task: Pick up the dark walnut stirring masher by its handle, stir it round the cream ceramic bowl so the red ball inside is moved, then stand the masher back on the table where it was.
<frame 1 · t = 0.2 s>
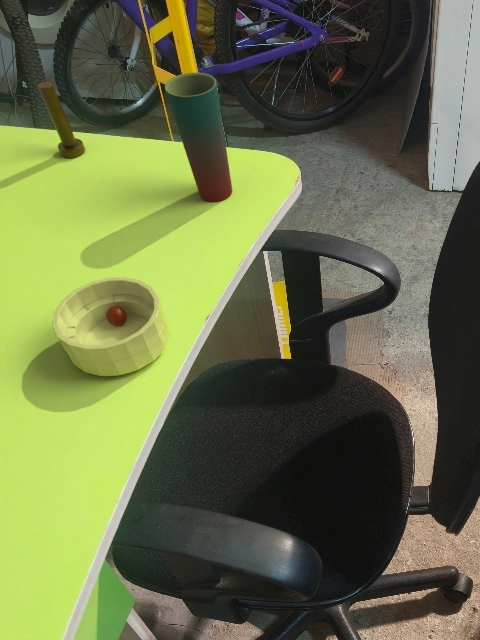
red ball: (116, 316, 72), point 2 cm above the table, touching bowl
masher: (73, 151, 97), on the table
cup: (216, 193, 90), on the table
bowl: (121, 342, 72), on the table
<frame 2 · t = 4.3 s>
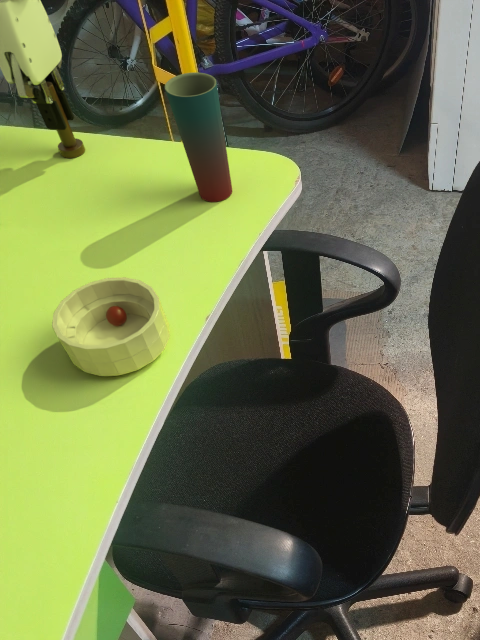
hand: (60, 122, 93), 5 cm above the table, tool pointing down, fingers closed on masher, 2 cm apart
masher: (73, 151, 97), on the table, touching gripper
everything else where it was.
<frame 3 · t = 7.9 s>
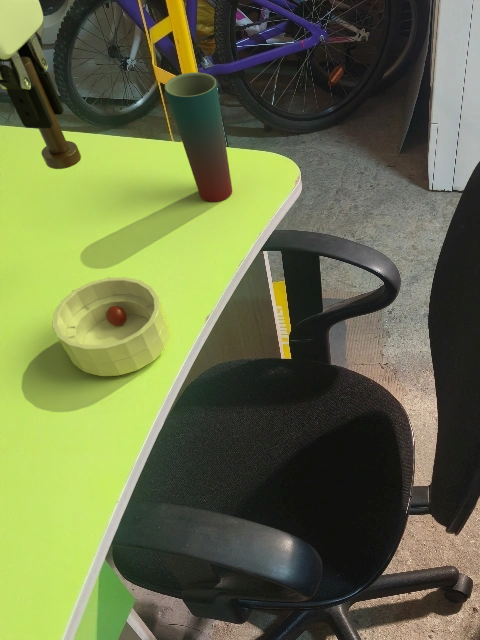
hand: (44, 118, 64), 19 cm above the table, tool pointing down, fingers closed on masher
masher: (63, 160, 68), point 15 cm above the table, touching gripper
everything else where it was.
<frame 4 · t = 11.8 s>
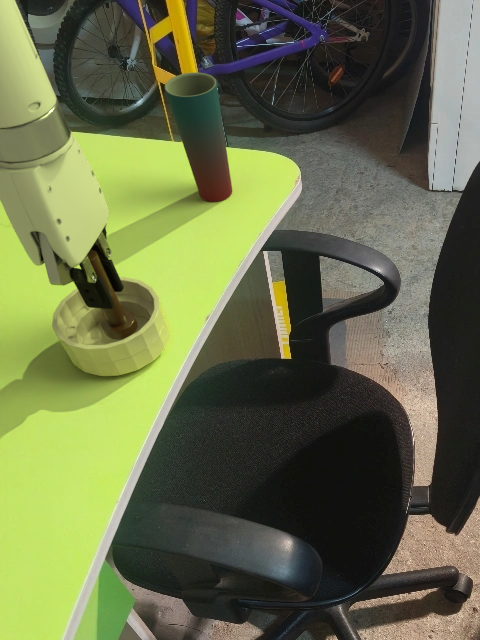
hand: (105, 297, 67), 7 cm above the table, tool pointing down, fingers closed on masher, 2 cm apart
red ball: (112, 313, 72), point 2 cm above the table, tilted 28°, touching bowl, masher
masher: (121, 328, 71), point 2 cm above the table, touching red ball, gripper
everything else where it was.
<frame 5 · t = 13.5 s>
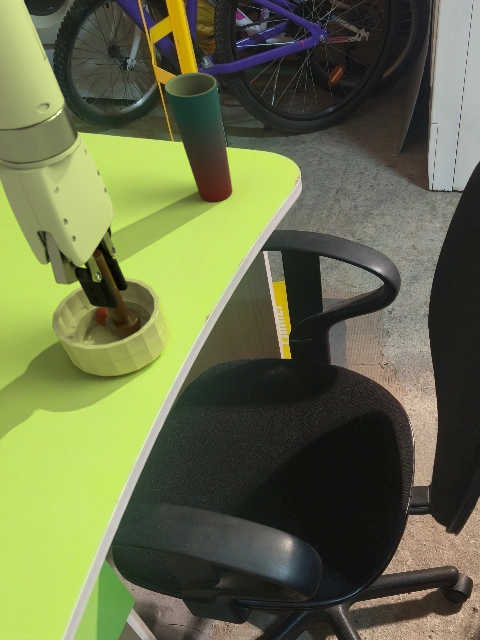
hand: (109, 295, 68), 6 cm above the table, tool pointing down, fingers closed on masher, 2 cm apart
red ball: (105, 316, 72), point 2 cm above the table, tilted 18°, touching bowl, masher
masher: (125, 326, 71), point 2 cm above the table, touching red ball, gripper
everything else where it was.
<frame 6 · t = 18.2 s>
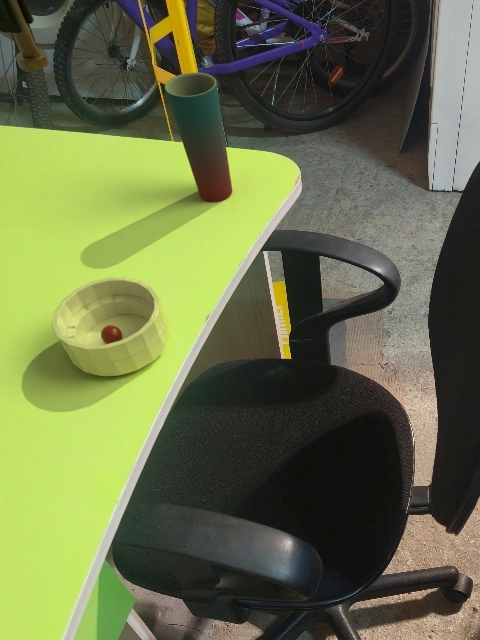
hand: (17, 25, 78), 19 cm above the table, tool pointing down, fingers closed on masher
red ball: (111, 335, 70), point 2 cm above the table, tilted 117°, touching bowl
masher: (34, 64, 82), point 15 cm above the table, touching gripper
everything else where it was.
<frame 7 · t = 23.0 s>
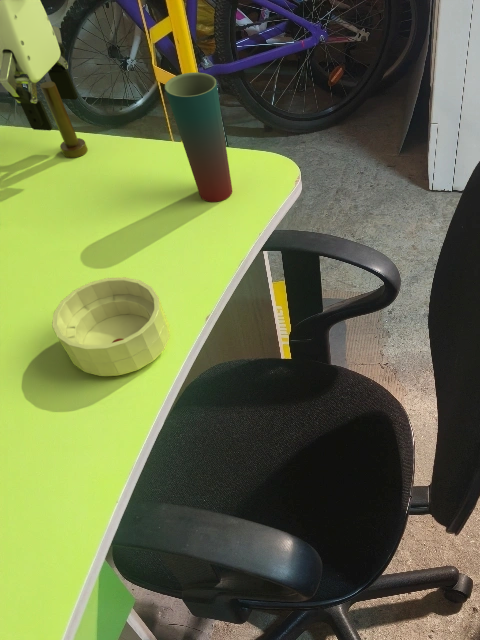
hand: (56, 113, 92), 6 cm above the table, tool pointing down, fingers open, 9 cm apart
red ball: (121, 348, 69), point 2 cm above the table, tilted 110°, touching bowl
masher: (75, 151, 97), on the table
everything else where it was.
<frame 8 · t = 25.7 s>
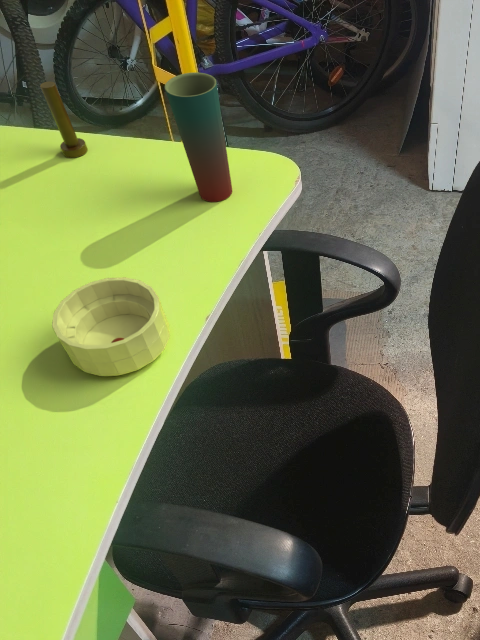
red ball: (121, 348, 69), point 2 cm above the table, tilted 117°, touching bowl
everything else where it was.
at the end: red ball moved 5.8 cm from its start; red ball inside the target area in the bowl (2.9 cm from its centre), point 1.8 cm above the bowl's base; masher inside the target area (0.4 cm from its centre), on the table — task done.
